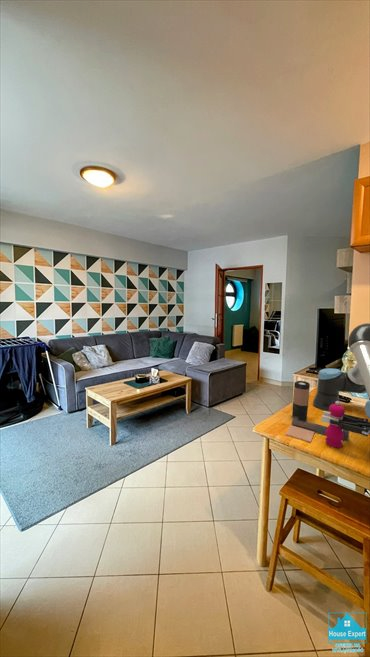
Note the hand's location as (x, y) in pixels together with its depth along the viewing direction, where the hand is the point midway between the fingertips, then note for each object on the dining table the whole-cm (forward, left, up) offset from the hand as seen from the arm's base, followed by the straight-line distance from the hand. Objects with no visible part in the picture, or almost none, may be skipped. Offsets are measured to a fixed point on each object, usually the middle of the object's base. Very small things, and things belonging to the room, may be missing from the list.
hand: (322, 416), depth 117 cm
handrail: (-4, -6, -11) cm, 14 cm away
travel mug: (-5, -22, -12) cm, 25 cm away
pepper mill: (-3, +4, -12) cm, 13 cm away
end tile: (+6, -7, -11) cm, 14 cm away
